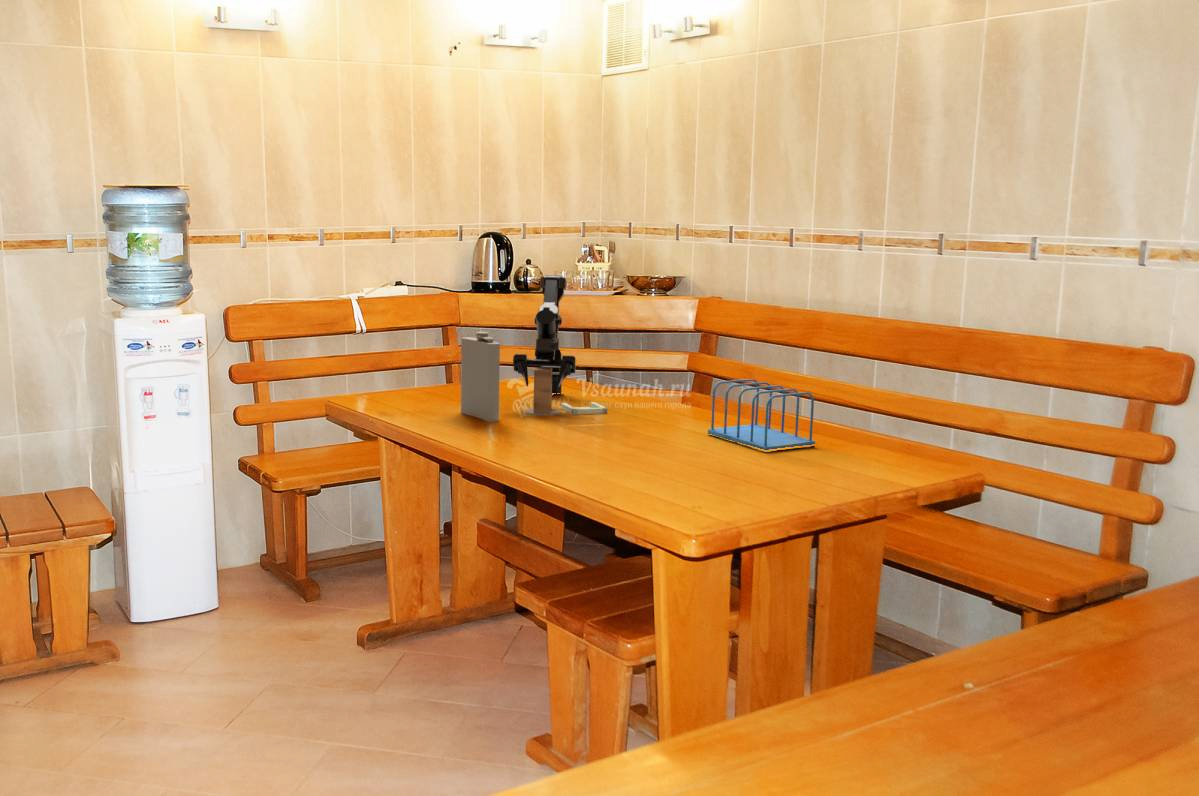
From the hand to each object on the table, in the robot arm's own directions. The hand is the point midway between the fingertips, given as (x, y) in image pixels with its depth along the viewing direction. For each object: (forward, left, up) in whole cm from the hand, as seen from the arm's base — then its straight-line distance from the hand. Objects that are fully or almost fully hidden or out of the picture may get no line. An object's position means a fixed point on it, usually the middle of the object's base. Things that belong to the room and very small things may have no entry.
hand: (542, 386), depth 331 cm
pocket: (+6, +12, -9) cm, 16 cm away
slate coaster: (-1, +1, -9) cm, 9 cm away
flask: (-10, -16, -9) cm, 21 cm away
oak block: (-1, +1, -8) cm, 8 cm away
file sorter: (+67, +15, -9) cm, 69 cm away
